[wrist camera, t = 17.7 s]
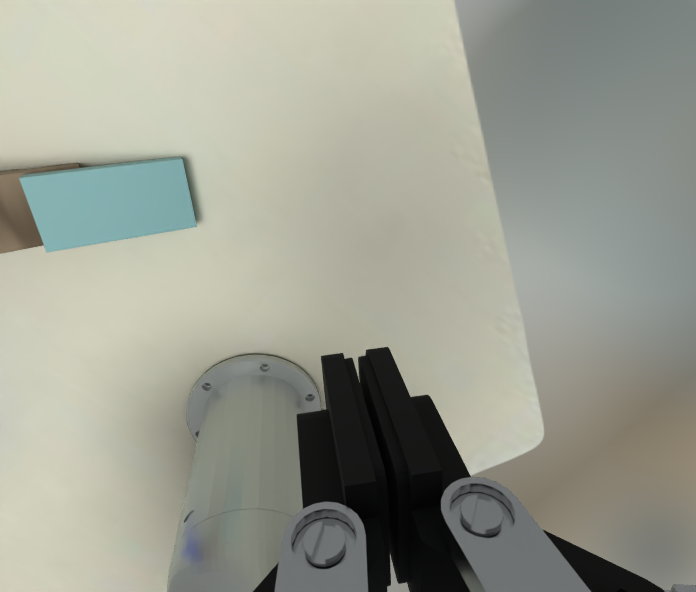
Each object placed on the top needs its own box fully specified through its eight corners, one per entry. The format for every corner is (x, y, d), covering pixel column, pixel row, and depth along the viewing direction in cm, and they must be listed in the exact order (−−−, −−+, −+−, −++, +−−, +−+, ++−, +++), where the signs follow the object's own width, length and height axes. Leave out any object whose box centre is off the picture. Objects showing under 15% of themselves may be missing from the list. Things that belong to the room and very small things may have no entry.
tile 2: (100, 234, 33) (-71, 267, 29) (98, 229, 35) (-66, 260, 30) (78, 165, 31) (-110, 189, 27) (77, 163, 32) (-103, 185, 28)
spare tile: (196, 226, 34) (46, 252, 31) (193, 221, 35) (49, 246, 32) (182, 159, 32) (18, 178, 28) (180, 156, 33) (23, 174, 30)
